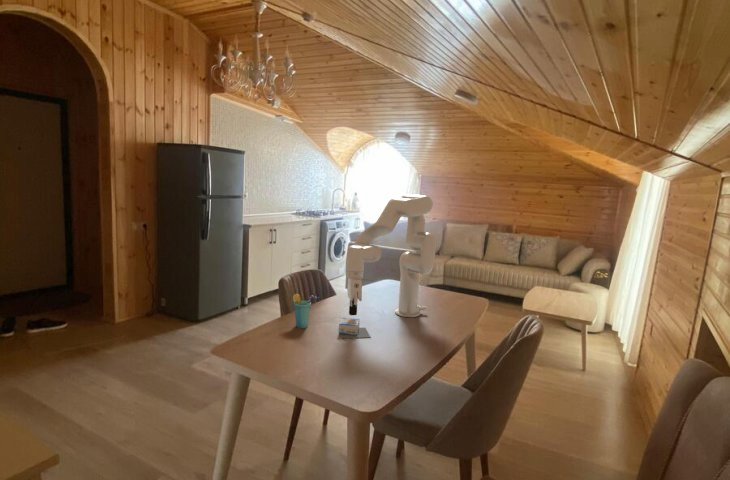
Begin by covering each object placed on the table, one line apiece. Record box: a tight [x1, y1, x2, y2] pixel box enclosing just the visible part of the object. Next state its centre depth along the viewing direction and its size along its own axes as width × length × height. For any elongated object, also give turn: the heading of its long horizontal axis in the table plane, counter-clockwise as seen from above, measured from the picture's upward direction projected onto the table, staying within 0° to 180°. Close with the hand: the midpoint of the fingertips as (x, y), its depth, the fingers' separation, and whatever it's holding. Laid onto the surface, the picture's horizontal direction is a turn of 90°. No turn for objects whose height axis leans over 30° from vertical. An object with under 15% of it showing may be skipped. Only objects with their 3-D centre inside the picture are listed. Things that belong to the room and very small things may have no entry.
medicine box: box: [338, 317, 360, 335], centre depth 170 cm, size 8×4×9 cm
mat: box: [340, 327, 372, 340], centre depth 169 cm, size 12×11×1 cm
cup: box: [292, 293, 319, 329], centre depth 173 cm, size 14×8×15 cm, turn 67°
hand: (352, 314), depth 173 cm, fingers closed
